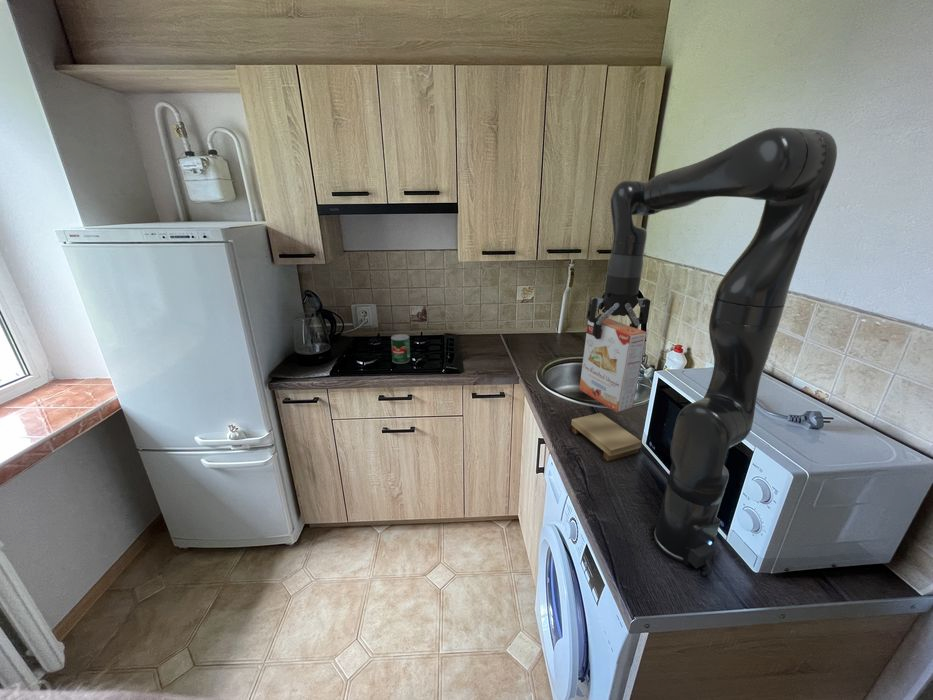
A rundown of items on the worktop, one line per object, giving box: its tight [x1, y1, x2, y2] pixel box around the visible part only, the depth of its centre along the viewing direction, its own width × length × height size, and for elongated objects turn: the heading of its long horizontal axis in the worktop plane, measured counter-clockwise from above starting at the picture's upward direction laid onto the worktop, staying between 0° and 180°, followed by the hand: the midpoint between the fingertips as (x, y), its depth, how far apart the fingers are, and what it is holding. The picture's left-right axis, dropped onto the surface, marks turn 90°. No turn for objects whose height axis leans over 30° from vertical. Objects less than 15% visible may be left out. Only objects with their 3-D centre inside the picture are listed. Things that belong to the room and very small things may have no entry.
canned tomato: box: [390, 333, 411, 365], centre depth 167 cm, size 8×8×11 cm
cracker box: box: [579, 317, 648, 413], centre depth 98 cm, size 14×6×21 cm, turn 26°
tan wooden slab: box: [570, 412, 643, 462], centre depth 112 cm, size 17×11×4 cm, turn 22°
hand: (613, 338), depth 96 cm, fingers closed on cracker box, 8 cm apart
